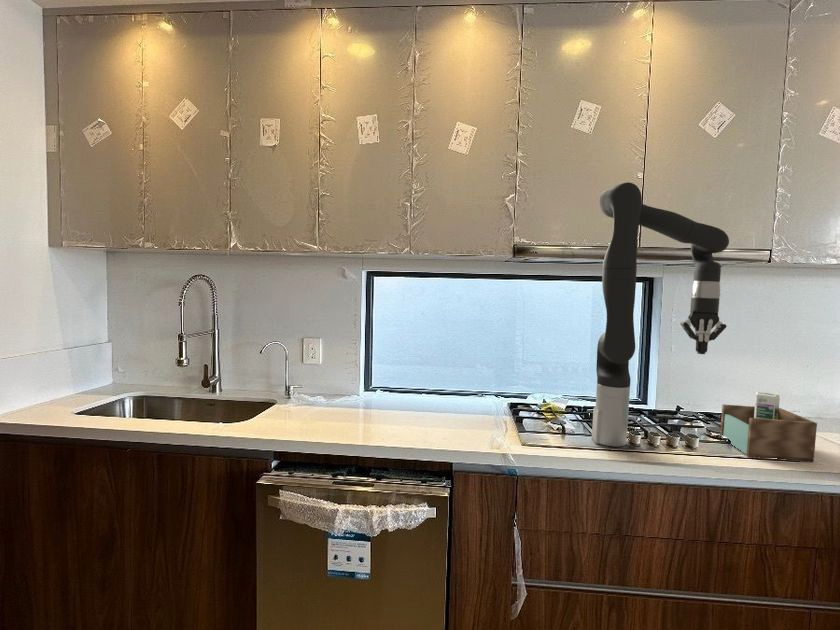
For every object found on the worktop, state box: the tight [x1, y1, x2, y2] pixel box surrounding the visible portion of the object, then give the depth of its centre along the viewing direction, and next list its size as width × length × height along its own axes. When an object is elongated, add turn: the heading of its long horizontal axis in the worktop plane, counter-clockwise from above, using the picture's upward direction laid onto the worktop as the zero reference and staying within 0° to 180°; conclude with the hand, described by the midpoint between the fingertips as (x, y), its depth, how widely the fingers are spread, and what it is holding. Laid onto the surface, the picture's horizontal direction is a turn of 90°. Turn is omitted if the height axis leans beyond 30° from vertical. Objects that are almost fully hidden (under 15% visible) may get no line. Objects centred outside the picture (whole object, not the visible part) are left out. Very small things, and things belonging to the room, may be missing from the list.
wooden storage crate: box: [719, 404, 818, 463], centre depth 157 cm, size 17×18×11 cm
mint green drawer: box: [723, 414, 749, 455], centre depth 157 cm, size 14×15×8 cm
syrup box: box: [754, 391, 780, 420], centre depth 157 cm, size 6×6×14 cm
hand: (700, 353), depth 162 cm, fingers closed
